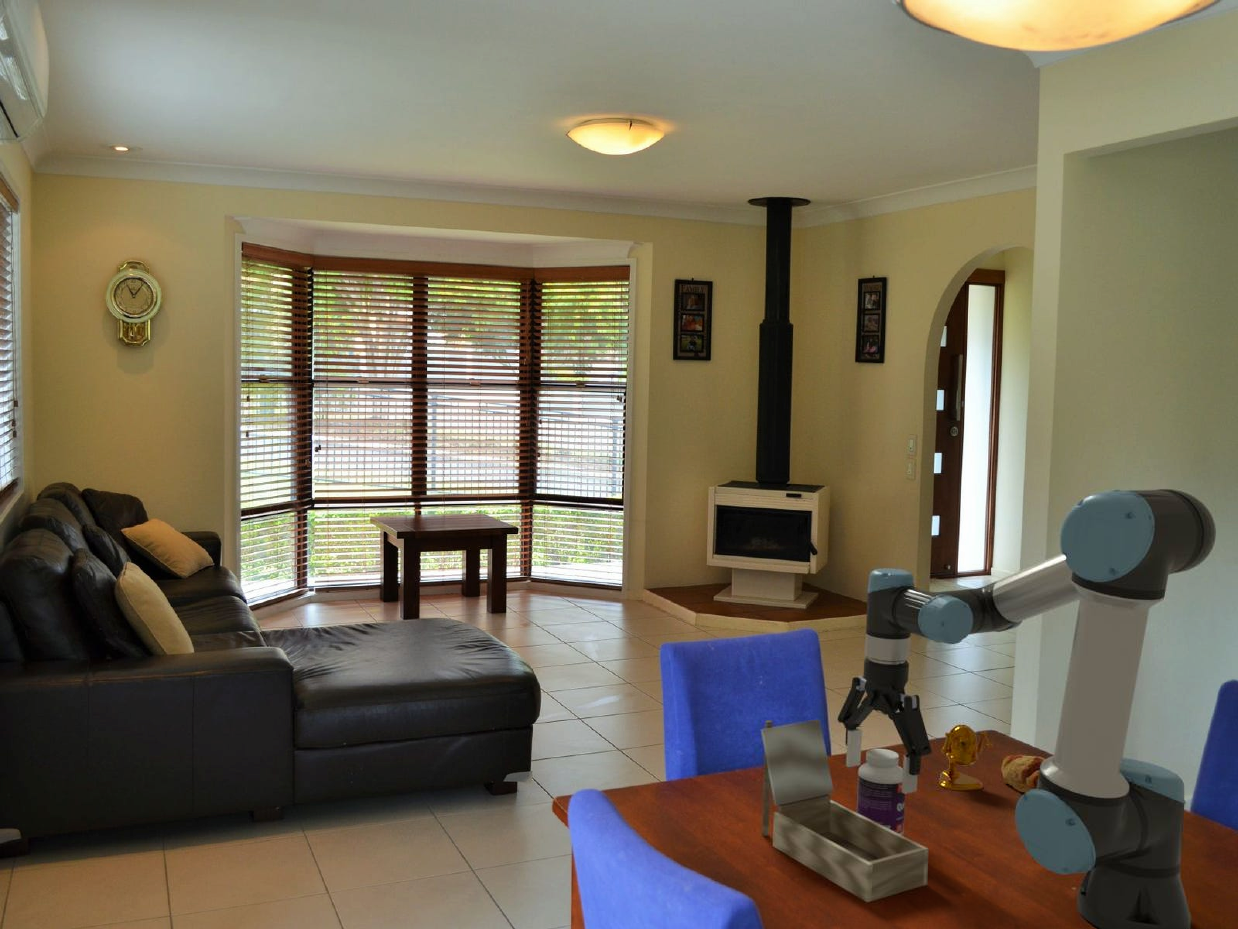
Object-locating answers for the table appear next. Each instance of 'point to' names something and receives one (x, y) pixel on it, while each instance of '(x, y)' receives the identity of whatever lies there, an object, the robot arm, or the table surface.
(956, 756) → the figurine
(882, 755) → the pill bottle
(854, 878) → the grey wooden hinged box
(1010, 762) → the croissant
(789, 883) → the table surface
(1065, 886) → the table surface
